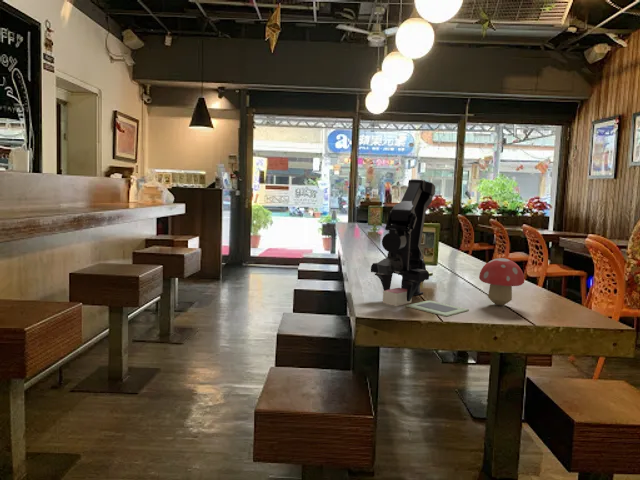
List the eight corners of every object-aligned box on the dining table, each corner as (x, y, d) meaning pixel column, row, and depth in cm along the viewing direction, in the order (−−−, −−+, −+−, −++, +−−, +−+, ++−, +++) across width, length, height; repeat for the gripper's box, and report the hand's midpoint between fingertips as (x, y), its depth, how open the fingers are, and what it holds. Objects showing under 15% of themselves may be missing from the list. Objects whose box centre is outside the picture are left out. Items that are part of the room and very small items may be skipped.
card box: (397, 299, 160) (398, 287, 160) (411, 303, 156) (412, 290, 156) (382, 303, 154) (383, 290, 154) (396, 306, 151) (397, 293, 150)
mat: (429, 301, 159) (429, 299, 159) (468, 310, 148) (468, 308, 148) (406, 306, 150) (406, 304, 150) (446, 316, 140) (446, 314, 140)
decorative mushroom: (475, 307, 154) (479, 258, 152) (478, 298, 166) (482, 254, 164) (522, 312, 149) (526, 263, 147) (521, 303, 161) (525, 257, 160)
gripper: (360, 246, 155) (357, 296, 156) (409, 254, 141) (405, 308, 143) (383, 245, 162) (380, 292, 164) (431, 252, 149) (428, 303, 151)
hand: (397, 298), depth 155 cm, fingers open, 8 cm apart
